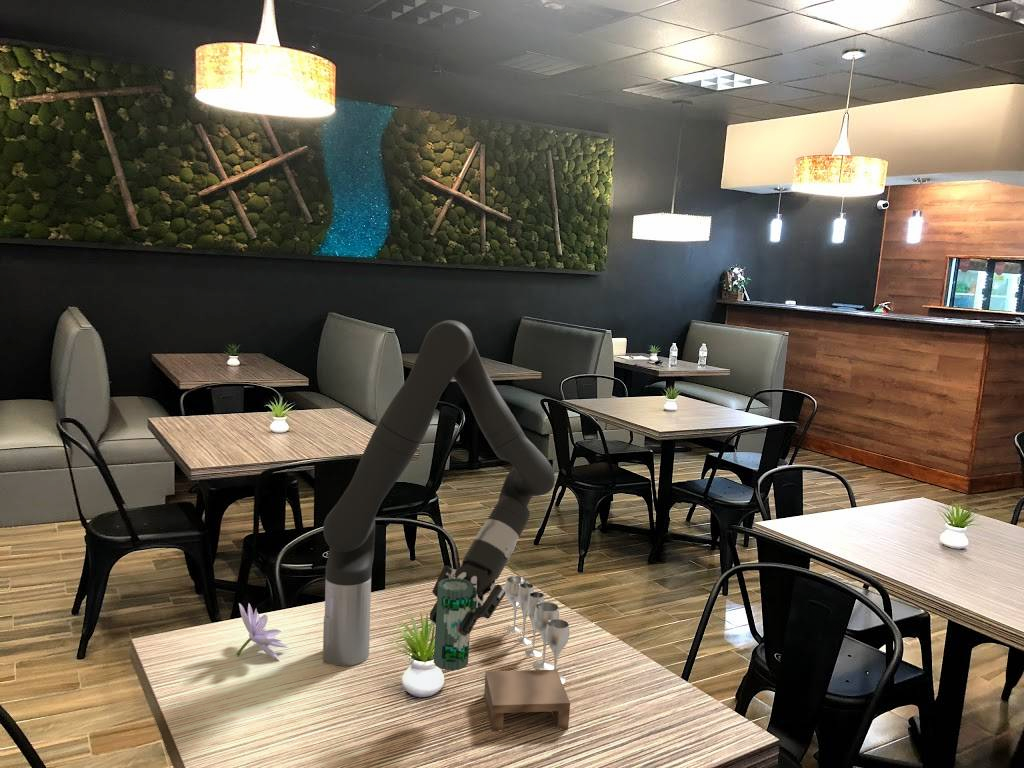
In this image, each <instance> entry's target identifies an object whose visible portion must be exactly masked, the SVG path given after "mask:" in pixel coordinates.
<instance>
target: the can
mask: <svg viewBox="0 0 1024 768" xmlns="http://www.w3.org/2000/svg"><path fill="white" fill-rule="evenodd" d="M472 594H473V584H471V582H470V581H468V580H465V579H460V578H455V577H454V578H450V579H449V578H447V579H444V580H441V581H440V582H438V594H437V597H436V602H437V611H436V623H435V630H434V631H435V633H434V648H433V650H434V651H433V663H434V666H435V667H437V668H439V669H441V670H445V671H453V672H454V671H456V670H457V671H460V670H461V669H464V668H467V666H468V665H469V656H470V655H469V654H470V641H471V640H470V639H471V637H470V636H471V632H470V633H469V634H467V635H466V636H464V635H461V633H460V632H459V631H458V629H459V627H460V625H461V623H462V622H463V620H464V618H465V616H466V614H467V613H468V612H469V613H470V606H471V602H472Z"/></svg>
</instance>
